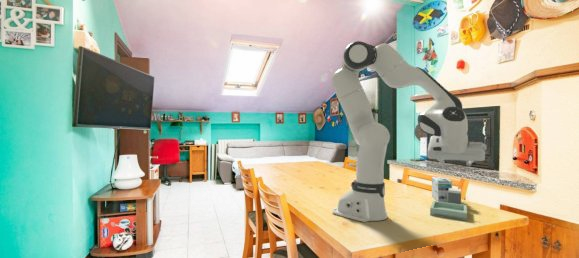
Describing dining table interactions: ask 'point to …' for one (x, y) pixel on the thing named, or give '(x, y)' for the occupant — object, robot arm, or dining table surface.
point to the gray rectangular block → (454, 196)
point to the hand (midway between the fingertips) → (455, 164)
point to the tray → (449, 210)
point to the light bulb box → (440, 188)
